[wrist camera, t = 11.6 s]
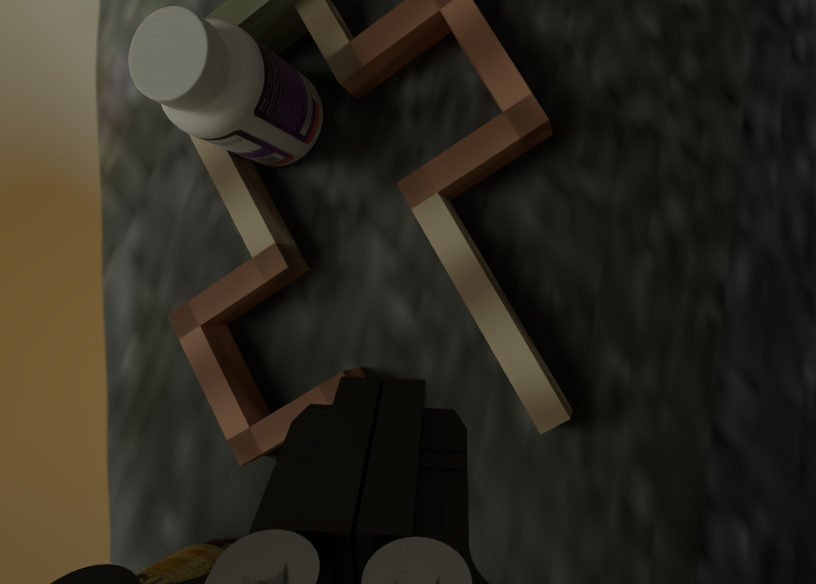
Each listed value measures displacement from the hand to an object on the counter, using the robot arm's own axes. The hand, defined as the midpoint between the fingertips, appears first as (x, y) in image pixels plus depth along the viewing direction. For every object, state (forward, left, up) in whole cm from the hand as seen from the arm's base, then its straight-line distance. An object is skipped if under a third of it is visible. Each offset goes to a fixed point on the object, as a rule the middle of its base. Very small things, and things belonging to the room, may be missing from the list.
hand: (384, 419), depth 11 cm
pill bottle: (-9, -16, -21) cm, 28 cm away
